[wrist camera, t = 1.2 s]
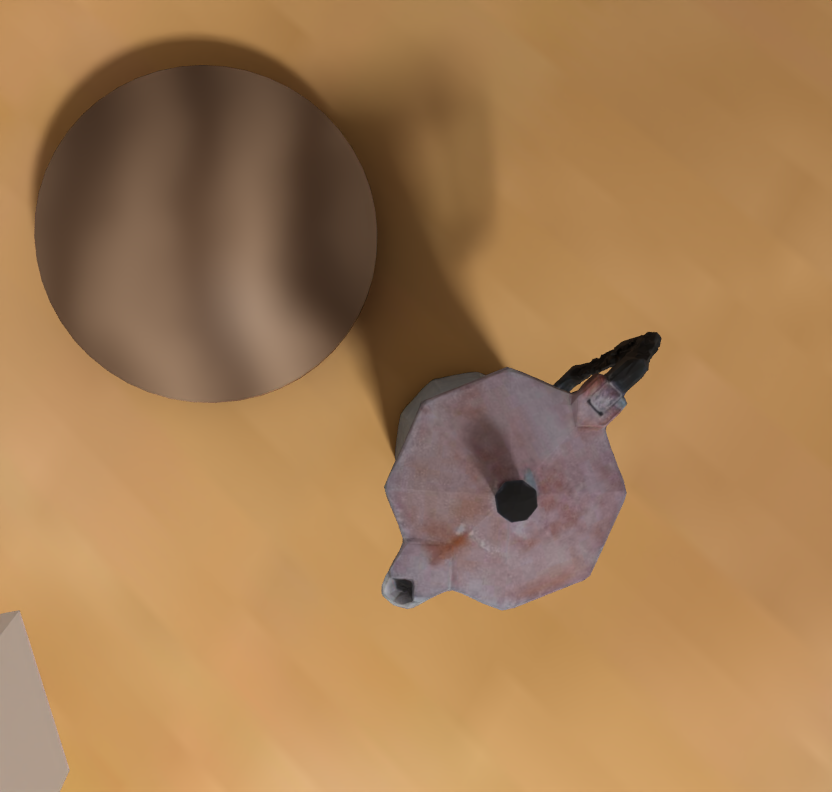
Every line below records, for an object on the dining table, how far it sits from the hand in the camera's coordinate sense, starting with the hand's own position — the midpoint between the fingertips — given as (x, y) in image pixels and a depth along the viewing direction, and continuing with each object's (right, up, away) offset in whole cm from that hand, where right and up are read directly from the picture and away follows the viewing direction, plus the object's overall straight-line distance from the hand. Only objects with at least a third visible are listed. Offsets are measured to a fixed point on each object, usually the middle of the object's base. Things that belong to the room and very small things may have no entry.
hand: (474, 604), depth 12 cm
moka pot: (+2, +1, +35) cm, 35 cm away
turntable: (-13, +12, +33) cm, 37 cm away
